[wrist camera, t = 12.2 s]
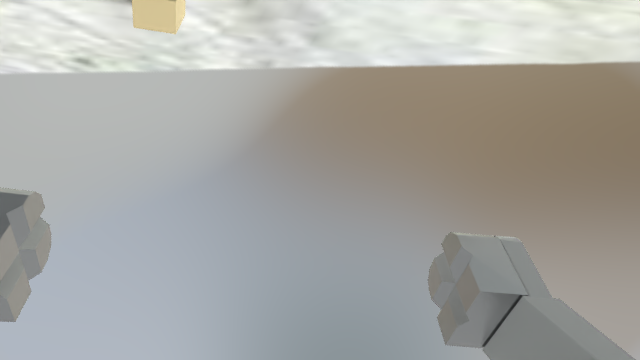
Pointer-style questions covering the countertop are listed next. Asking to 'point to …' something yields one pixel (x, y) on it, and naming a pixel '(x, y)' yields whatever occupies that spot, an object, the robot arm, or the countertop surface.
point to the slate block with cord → (158, 15)
